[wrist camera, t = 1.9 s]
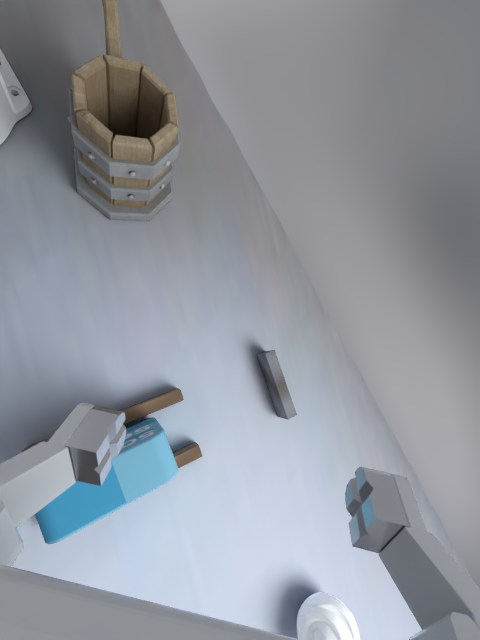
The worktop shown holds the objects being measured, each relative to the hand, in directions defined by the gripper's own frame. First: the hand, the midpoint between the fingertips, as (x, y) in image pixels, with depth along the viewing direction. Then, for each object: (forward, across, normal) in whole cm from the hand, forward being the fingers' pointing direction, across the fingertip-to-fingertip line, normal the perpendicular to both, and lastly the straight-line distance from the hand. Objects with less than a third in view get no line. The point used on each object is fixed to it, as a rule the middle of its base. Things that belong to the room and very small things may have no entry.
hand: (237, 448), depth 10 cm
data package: (+15, +14, +27) cm, 34 cm away
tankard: (+41, +24, -3) cm, 48 cm away
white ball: (+10, -17, +47) cm, 51 cm away
